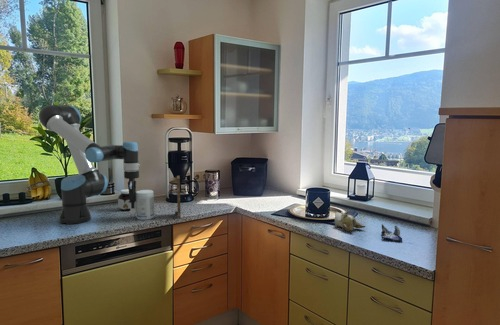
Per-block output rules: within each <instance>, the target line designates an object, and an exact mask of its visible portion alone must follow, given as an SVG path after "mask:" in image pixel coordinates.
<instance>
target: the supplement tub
mask: <svg viewBox="0 0 500 325" xmlns="http://www.w3.org/2000/svg"><path fill="white" fill-rule="evenodd" d="M155 213H156V212H155V196H154V190H152V189H141V190H137V191H136V214H135V215H136V218H137V219H138V220H141V221H144V220H151V219H154V217H155V215H156V214H155Z"/></svg>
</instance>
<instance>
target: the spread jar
mask: <svg viewBox="0 0 500 325" xmlns="http://www.w3.org/2000/svg"><path fill="white" fill-rule="evenodd" d="M129 201H130V200H129V189H128V188H127V189H121V190H120V194H119V195H118V197H117V205H118V209H119V210H121V211H123V212H128V211H130V203H129ZM135 202H136V201H135ZM130 212H131V211H130Z"/></svg>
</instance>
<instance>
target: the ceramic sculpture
mask: <svg viewBox="0 0 500 325" xmlns="http://www.w3.org/2000/svg"><path fill="white" fill-rule="evenodd" d="M334 225H335V226H336V227H339V228H340V227H341V228H343V229H344V230H346V231H347V232H353V231H354V228H356V229H363V228H366V225H362V224H361V222H358V221H357V220H356V218H355V216H353V214H349V212H348V211H347V212H346V211H345V212H343V213H341V212H339V211H335V215H334Z"/></svg>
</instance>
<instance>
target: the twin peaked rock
mask: <svg viewBox="0 0 500 325" xmlns="http://www.w3.org/2000/svg"><path fill="white" fill-rule="evenodd" d="M381 230H382V231H381V234H380V236H381V239H382V240H383V239H389V240H390V241H391V242H396V243H397V242H401V243H402V242H403V238H402V236H401V230H400V228H399V227H398V226H397V225H395V226H394V231H393V232H392V231H391V230H389V229H388V228H387V227H385V225H384V224H383V223H382V224H381Z"/></svg>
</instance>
